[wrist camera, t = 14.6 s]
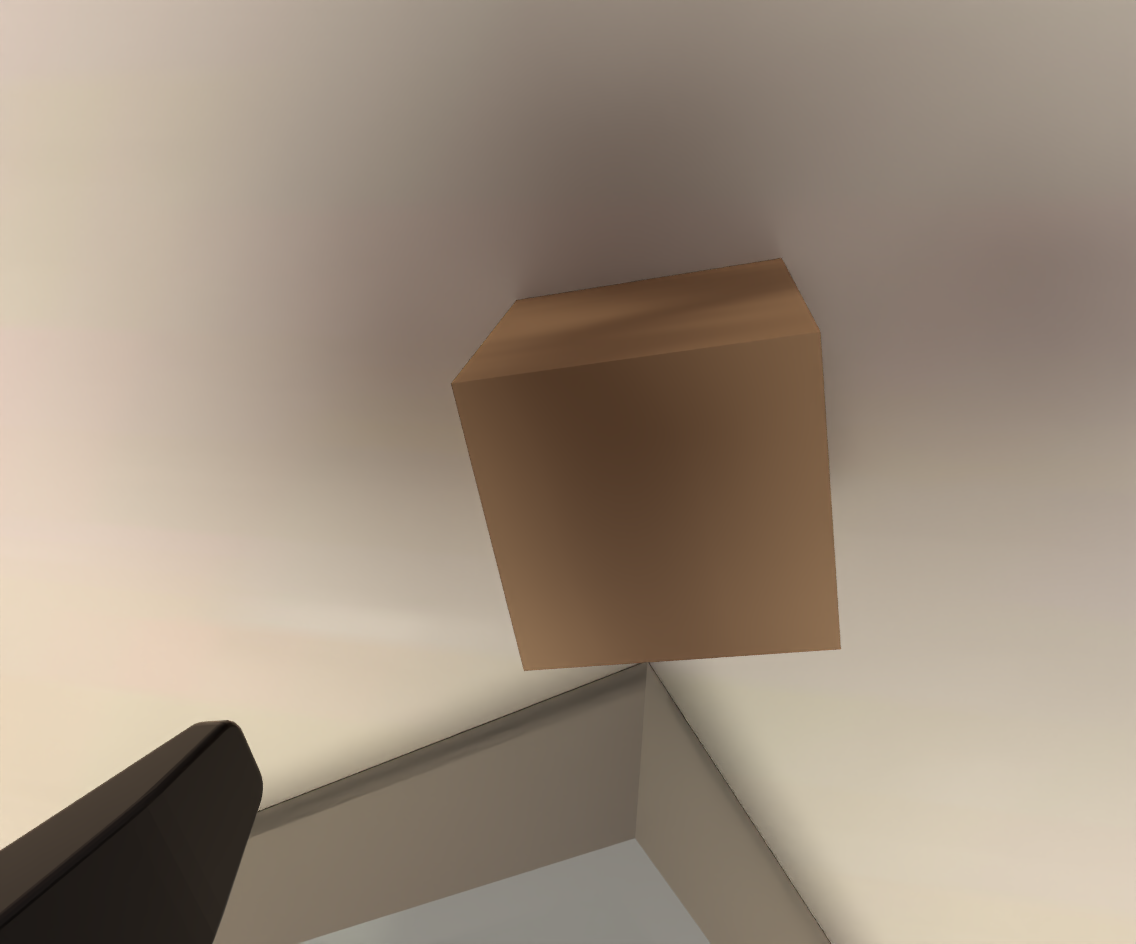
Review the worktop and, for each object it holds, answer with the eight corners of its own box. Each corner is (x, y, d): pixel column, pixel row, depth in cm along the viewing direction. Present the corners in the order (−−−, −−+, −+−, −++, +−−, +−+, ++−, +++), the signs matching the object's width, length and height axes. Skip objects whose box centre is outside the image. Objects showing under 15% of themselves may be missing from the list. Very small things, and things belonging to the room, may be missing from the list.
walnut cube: (781, 257, 15) (820, 330, 11) (800, 500, 17) (840, 648, 13) (516, 299, 16) (450, 383, 12) (564, 524, 18) (524, 670, 14)
